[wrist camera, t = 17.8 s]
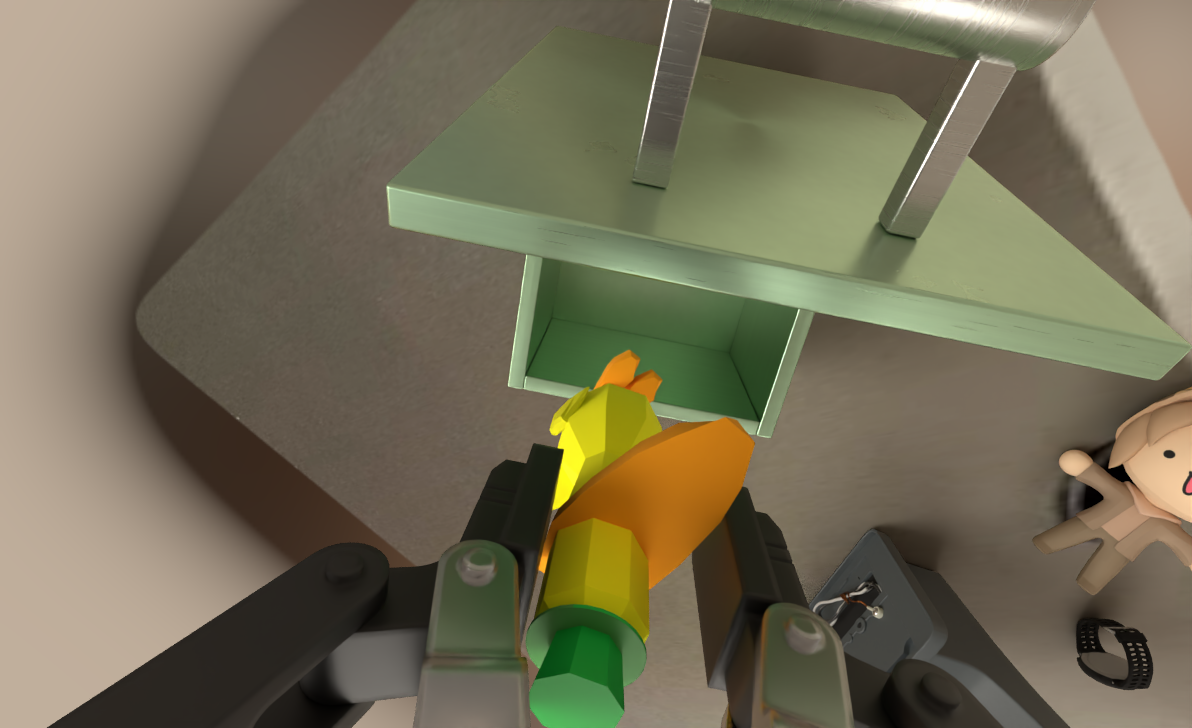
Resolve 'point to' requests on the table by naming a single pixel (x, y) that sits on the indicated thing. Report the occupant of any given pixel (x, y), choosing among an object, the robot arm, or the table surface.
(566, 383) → the bin
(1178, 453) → the action figure
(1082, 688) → the table surface
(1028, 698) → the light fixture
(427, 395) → the table surface
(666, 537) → the toy figure
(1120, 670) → the smartwatch
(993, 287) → the bin lid
